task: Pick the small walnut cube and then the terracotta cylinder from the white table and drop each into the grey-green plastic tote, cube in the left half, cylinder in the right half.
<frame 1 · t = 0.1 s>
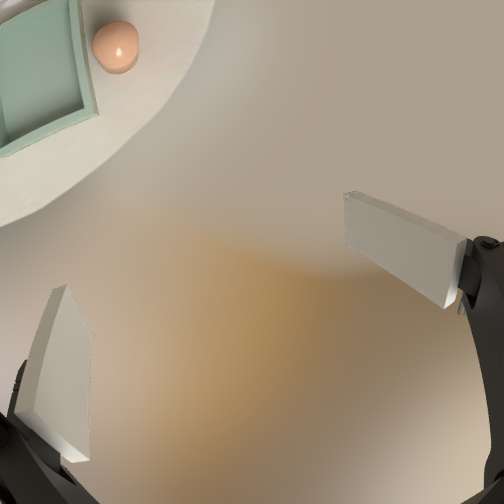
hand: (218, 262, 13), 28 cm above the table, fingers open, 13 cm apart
tote: (38, 73, 24), on the table
terracotta cylinder: (119, 56, 28), on the table
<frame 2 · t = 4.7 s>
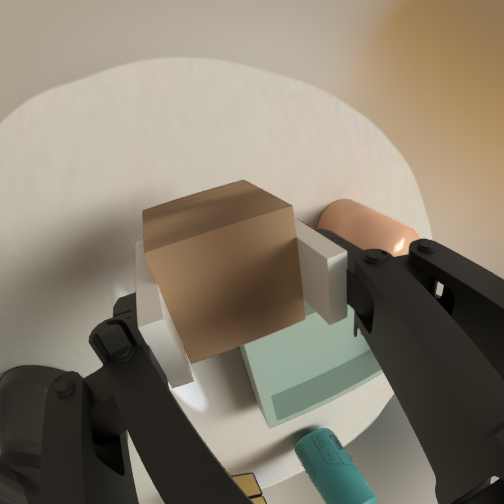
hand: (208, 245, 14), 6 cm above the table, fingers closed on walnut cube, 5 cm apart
walnut cube: (206, 241, 15), point 6 cm above the table, touching gripper
tote: (326, 330, 29), on the table
puzzle cube: (220, 485, 40), on the table
beverage bottle: (308, 431, 38), on the table
terracotta cylinder: (341, 227, 25), on the table
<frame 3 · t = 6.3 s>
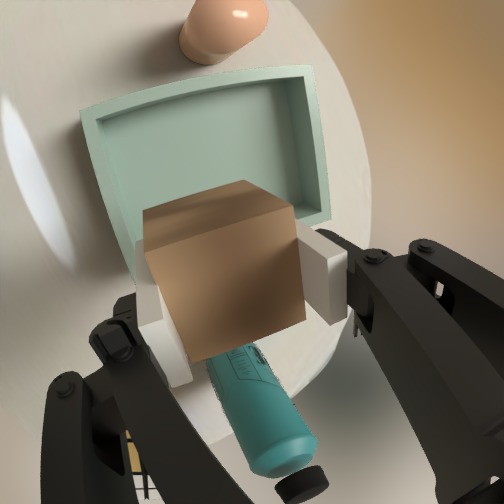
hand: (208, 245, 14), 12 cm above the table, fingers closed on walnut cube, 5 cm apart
walnut cube: (206, 241, 15), point 12 cm above the table, touching gripper
tote: (209, 161, 25), on the table
puzzle cube: (135, 429, 34), on the table
beverage bottle: (228, 348, 34), on the table
terracotta cylinder: (208, 39, 20), on the table
when the fingers open (4 cm above the table, at t = 8.0 s): walnut cube drops 3 cm, resting on tote.
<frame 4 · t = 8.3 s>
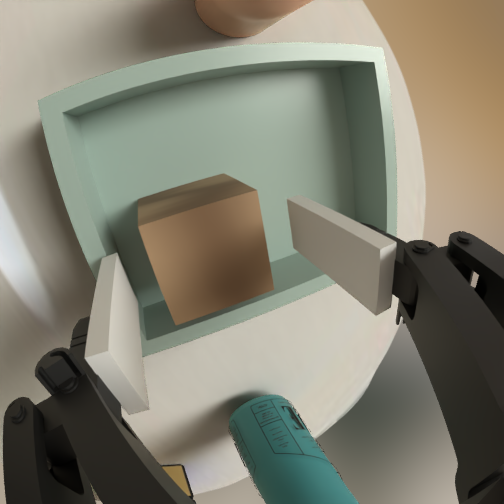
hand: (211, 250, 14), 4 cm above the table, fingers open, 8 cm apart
walnut cube: (192, 226, 17), point 1 cm above the table, touching tote
tote: (238, 175, 17), on the table
puzzle cube: (142, 479, 27), on the table
beverage bottle: (253, 402, 26), on the table
terracotta cylinder: (236, 3, 13), on the table
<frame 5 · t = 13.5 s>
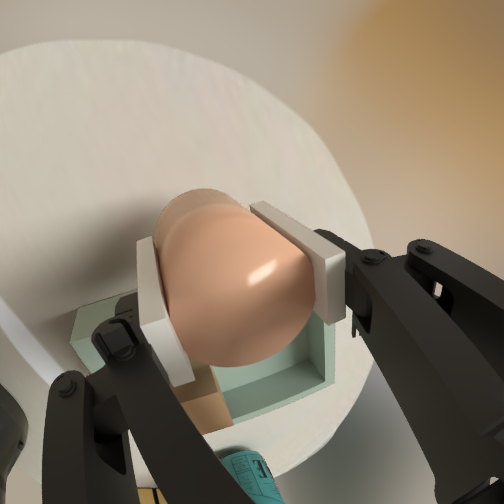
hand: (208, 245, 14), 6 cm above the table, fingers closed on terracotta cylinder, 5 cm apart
walnut cube: (184, 374, 24), point 1 cm above the table, touching tote
tote: (214, 342, 24), on the table
puzzle cube: (153, 495, 34), on the table
beverage bottle: (235, 451, 33), on the table
terracotta cylinder: (202, 236, 15), point 4 cm above the table, touching gripper
when the fingers open (4 cm above the table, at t = 16.4 s): terracotta cylinder drops 1 cm, resting on tote.
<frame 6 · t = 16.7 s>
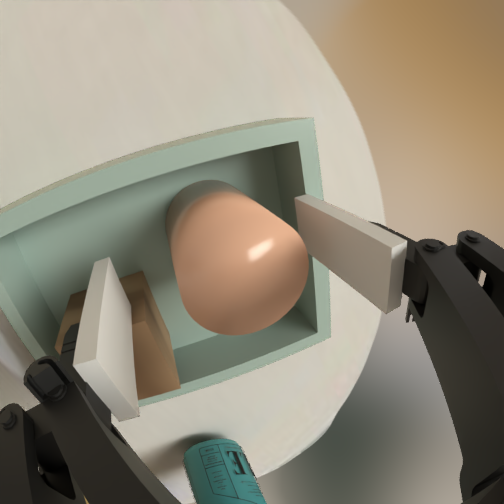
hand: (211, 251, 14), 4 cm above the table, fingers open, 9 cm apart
walnut cube: (120, 315, 17), point 1 cm above the table, touching tote
tote: (160, 267, 18), on the table
beverage bottle: (208, 440, 27), on the table
terracotta cylinder: (208, 222, 17), point 1 cm above the table, touching tote
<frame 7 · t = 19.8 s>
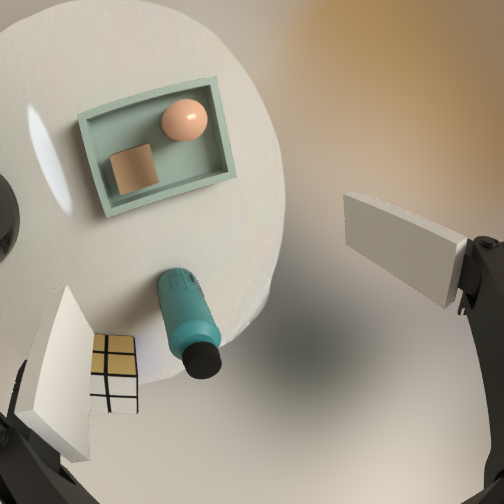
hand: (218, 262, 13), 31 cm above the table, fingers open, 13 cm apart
walnut cube: (135, 165, 37), point 1 cm above the table, touching tote
tote: (156, 143, 37), on the table
puzzle cube: (107, 354, 47), on the table
beverage bottle: (175, 279, 46), on the table
terracotta cylinder: (178, 122, 36), point 1 cm above the table, touching tote
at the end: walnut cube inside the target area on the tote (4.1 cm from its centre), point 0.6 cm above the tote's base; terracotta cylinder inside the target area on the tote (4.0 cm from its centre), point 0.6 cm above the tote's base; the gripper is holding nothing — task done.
